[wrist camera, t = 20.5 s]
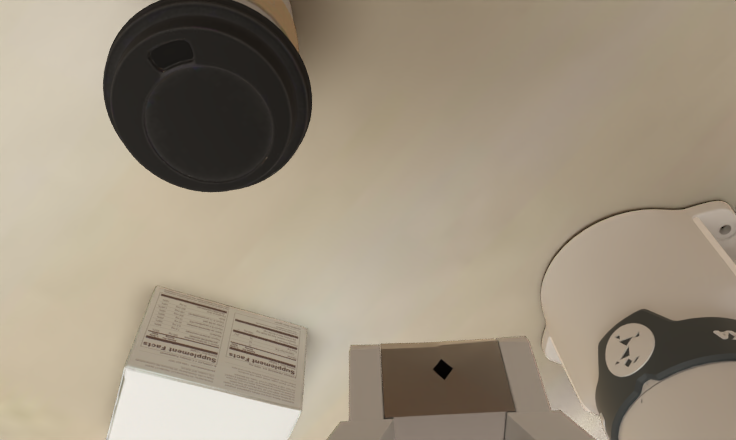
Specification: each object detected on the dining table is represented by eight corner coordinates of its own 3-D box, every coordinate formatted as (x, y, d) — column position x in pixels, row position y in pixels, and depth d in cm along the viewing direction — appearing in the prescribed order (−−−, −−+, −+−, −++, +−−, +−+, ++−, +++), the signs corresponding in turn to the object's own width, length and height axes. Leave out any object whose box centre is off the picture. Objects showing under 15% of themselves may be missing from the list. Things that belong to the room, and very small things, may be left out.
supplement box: (254, 449, 65) (241, 540, 57) (116, 417, 62) (83, 509, 55) (311, 326, 57) (305, 414, 49) (155, 282, 54) (121, 368, 46)
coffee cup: (231, -103, 39) (174, -44, 26) (353, 11, 42) (354, 111, 30) (138, 17, 42) (49, 120, 30) (258, 113, 46) (223, 240, 33)
